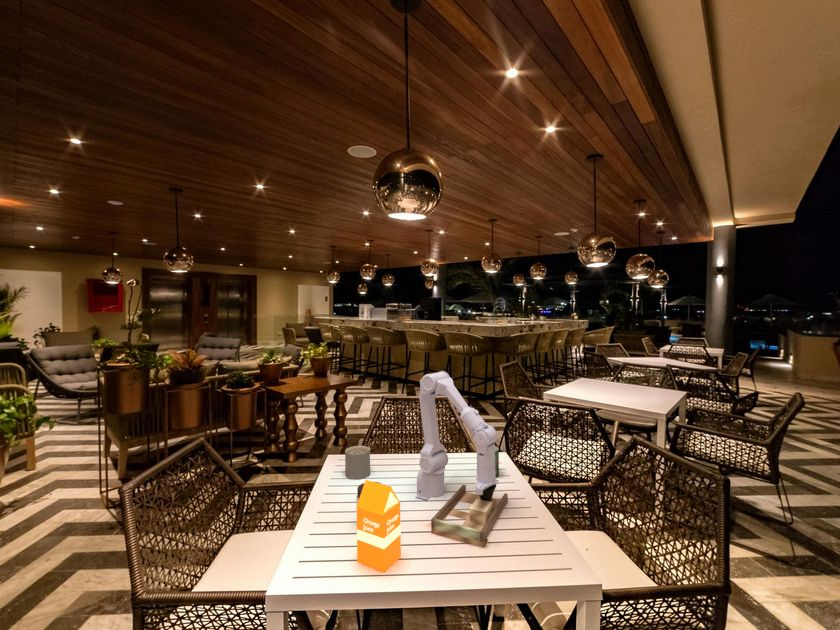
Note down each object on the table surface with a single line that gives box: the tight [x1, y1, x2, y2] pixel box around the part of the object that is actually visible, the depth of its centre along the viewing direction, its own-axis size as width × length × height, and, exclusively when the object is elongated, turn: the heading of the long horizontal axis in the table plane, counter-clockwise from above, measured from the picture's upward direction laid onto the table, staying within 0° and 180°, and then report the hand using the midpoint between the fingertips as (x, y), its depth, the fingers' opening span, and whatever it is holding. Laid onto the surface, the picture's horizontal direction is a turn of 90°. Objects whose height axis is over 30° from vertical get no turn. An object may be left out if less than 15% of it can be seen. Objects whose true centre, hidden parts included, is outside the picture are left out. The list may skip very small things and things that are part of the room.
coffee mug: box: [344, 445, 371, 481], centre depth 155 cm, size 13×10×10 cm
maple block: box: [469, 499, 492, 525], centre depth 116 cm, size 5×7×4 cm
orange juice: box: [356, 479, 402, 574], centre depth 99 cm, size 8×9×20 cm
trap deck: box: [430, 484, 509, 549], centre depth 118 cm, size 16×26×4 cm, turn 152°
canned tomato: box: [495, 445, 500, 479], centre depth 151 cm, size 8×8×11 cm
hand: (486, 507), depth 120 cm, fingers closed
